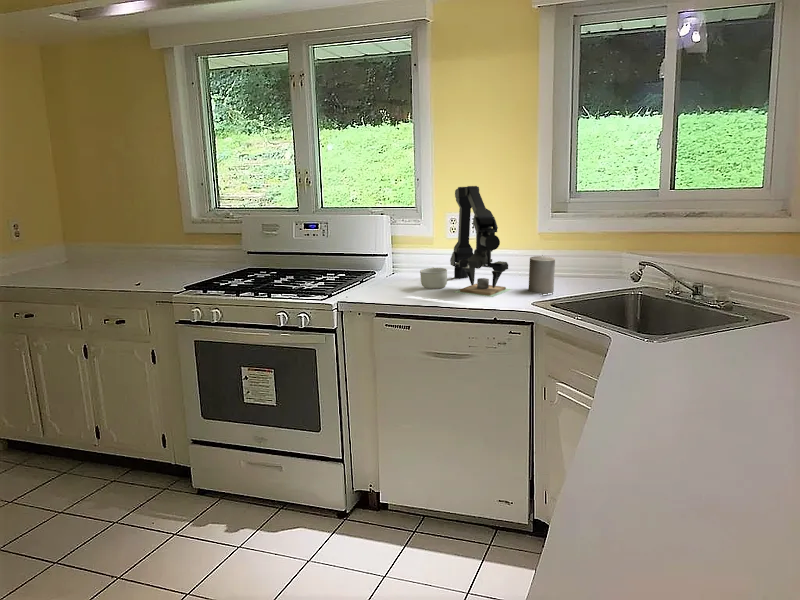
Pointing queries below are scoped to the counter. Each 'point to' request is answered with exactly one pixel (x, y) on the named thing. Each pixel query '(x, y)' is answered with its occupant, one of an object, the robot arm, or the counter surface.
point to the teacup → (433, 278)
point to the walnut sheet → (484, 291)
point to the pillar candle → (541, 274)
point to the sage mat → (485, 295)
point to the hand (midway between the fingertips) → (482, 286)
